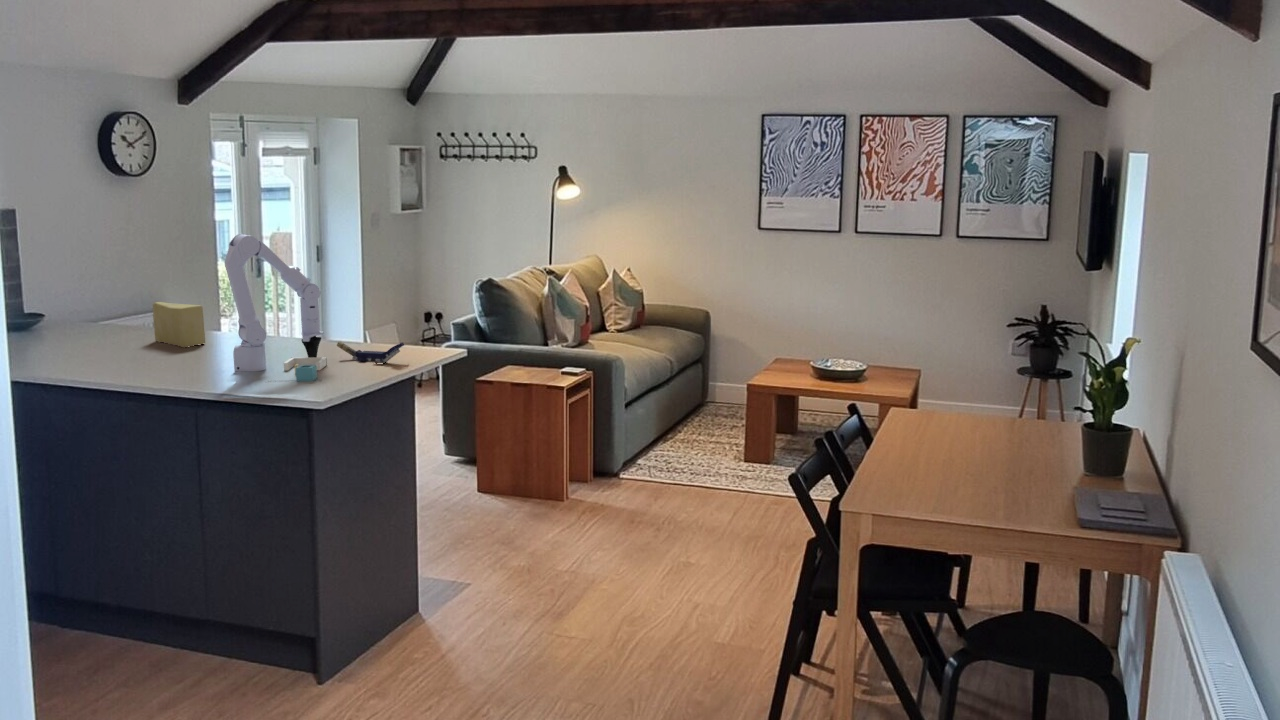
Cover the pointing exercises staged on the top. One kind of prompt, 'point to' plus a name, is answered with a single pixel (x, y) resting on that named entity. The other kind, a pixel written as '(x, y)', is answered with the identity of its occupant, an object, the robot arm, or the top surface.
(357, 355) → the toy
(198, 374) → the top surface
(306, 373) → the blue square hollow block
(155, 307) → the cheese
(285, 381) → the board
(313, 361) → the white u-shaped piece
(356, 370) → the top surface
